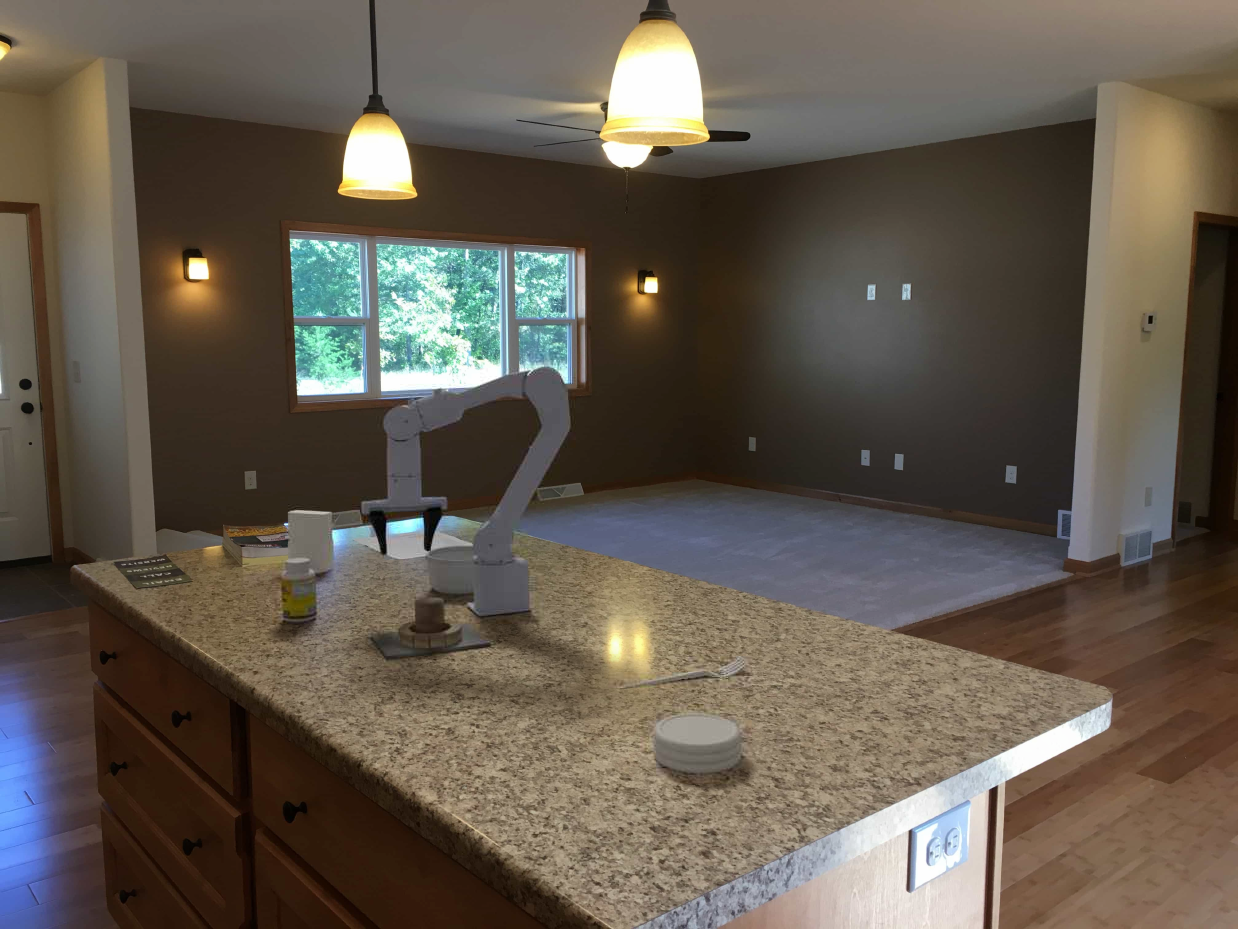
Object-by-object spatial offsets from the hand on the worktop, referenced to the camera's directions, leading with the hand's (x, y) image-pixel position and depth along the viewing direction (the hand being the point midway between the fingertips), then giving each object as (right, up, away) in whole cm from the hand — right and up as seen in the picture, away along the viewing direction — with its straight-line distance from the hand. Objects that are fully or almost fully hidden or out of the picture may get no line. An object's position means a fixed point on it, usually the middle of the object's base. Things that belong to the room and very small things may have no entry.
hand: (405, 551), depth 170 cm
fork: (+46, -15, -34) cm, 59 cm away
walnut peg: (+8, -12, -17) cm, 22 cm away
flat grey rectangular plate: (+8, -13, -17) cm, 23 cm away
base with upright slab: (-27, -7, +33) cm, 43 cm away
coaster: (+46, -18, -59) cm, 78 cm away
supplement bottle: (-17, -11, -4) cm, 21 cm away
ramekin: (+7, -9, +18) cm, 21 cm away
